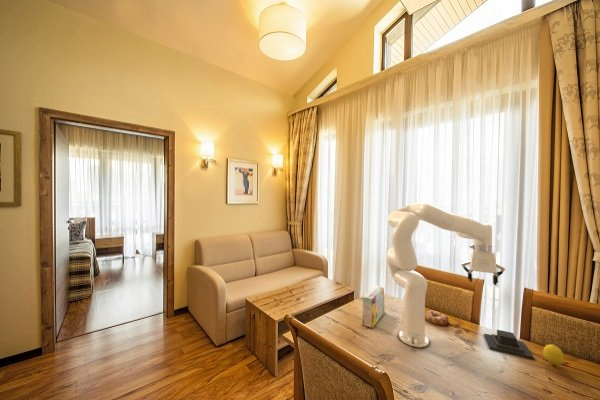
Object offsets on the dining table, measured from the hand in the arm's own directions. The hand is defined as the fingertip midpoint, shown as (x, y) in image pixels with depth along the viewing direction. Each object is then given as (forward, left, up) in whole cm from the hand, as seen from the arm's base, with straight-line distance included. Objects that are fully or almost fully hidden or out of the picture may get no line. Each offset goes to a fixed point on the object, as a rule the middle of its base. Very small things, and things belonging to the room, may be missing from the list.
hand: (482, 282), depth 117 cm
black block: (-10, -7, -23) cm, 26 cm away
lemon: (-16, -20, -24) cm, 36 cm away
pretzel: (+1, +20, -24) cm, 32 cm away
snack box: (-13, +50, -24) cm, 57 cm away
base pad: (-10, -7, -24) cm, 27 cm away
